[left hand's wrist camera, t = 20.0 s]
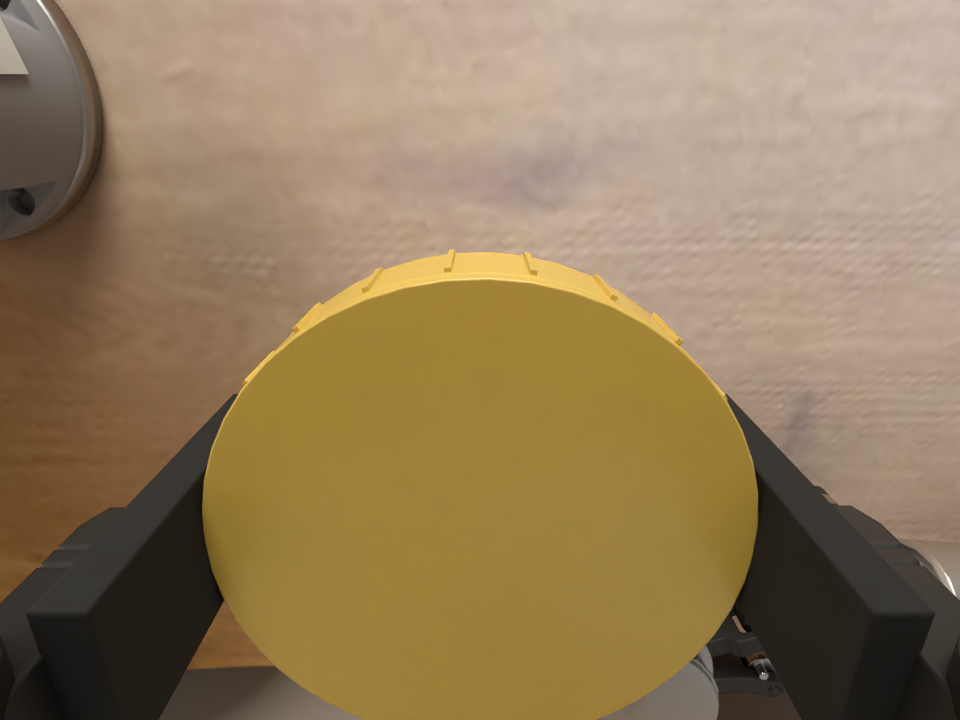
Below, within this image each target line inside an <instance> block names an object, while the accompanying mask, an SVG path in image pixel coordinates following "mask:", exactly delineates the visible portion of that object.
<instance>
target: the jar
mask: <svg viewBox="0 0 960 720" xmlns="http://www.w3.org/2000/svg"><path fill="white" fill-rule="evenodd" d="M718 691H719V690H718V687H717V685H716V683H715V680H714V678H713V661H712V657H711V654H710V651H709V649H708V646H707V644H706V645H705V646H704V647H703V648H702V650H701V651H700V652H699V653H698V654H697V655H696V656H695V657H694V658H693V659H692V660H691V661H690V662H689V663H688V664H687V665H685V666H684V667H683V668H682V669H681V670H680V671H679V672H678V673H676V674H675V675H674V676H673V677H672V678H670V679H669V680H668V681H666V682H665V683H663V684H662V685H660V686H659V687H658V688H656V689H655V690H653V691H652V692H651V693H649V694H648V695H646V696H644V697H642V698H640V699H639V700H637V701H635V702H633V703H631V704H630V705H628V706H626V707H624V708H623V709H620V710H618V711H616V712H613V713H611V714H609V715H606V716H604V717H602V718H599V719H597V720H717V716H718V708H719V699H718Z"/></svg>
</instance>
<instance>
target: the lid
mask: <svg viewBox="0 0 960 720" xmlns="http://www.w3.org/2000/svg"><path fill="white" fill-rule="evenodd" d="M292 331H293V333H292V334H291V335H290V336H289V337H288V338H287V339H286V340H285V341H284V342H283V343H282V344H281V345H280V346H279V347H278V348H277V349H276V351H274V350H273V351H272V352H271V353H270V354H269V355H268V356H267V357H266V358H265V359H264V360H263V361H262V362H261V363H260V364H259V365H258V366H257V367H256V369H255V370H254V371H253V372H252V373H251V374H250V375H249V376H248V377H247V378H246V379H245V380H244V381H243V383H242V385H243V386H244V387H243V388H242V389H241V391H240V393H239V394H238V396H237V398H236V399H235V401H234V402H233V404H232V406H231V407H230V409H229V411H228V412H227V414H226V415H225V417H224V419H223V421H222V424H221V426H220V429H219V431H218V434H217V436H216V438H215V441H214V443H213V446H212V448H211V452H210V456H209V461H208V465H207V469H206V473H205V478H204V487H203V501H202V519H203V530H204V537H205V542H206V547H207V552H208V556H209V561H210V566H211V570H212V573H213V575H214V577H215V580H216V582H217V585H218V587H219V589H220V592H221V594H222V597H223V599H224V601H225V602H226V604H227V606H228V607H229V609H230V611H231V612H232V614H233V616H234V618H235V619H236V621H237V623H238V624H239V626H240V627H241V628H242V629H243V631H244V632H245V633H246V634H247V636H248V637H249V638H250V640H251V641H252V642H253V643H254V645H255V646H256V647H257V648H258V649H259V650H260V651H261V652H262V653H263V654H264V655H265V656H266V657H267V658H268V659H269V660H270V661H271V662H272V663H273V664H274V665H275V666H276V667H277V668H278V669H279V670H281V671H282V672H283V673H284V674H286V675H287V676H288V677H290V678H291V679H292V680H293V681H295V682H296V683H297V684H298V685H300V686H301V687H302V688H304V689H306V690H307V691H309V692H310V693H312V694H314V695H315V696H317V697H319V698H320V699H322V700H323V701H325V702H327V703H329V704H331V705H333V706H335V707H337V708H339V709H341V710H343V711H345V712H347V713H349V714H351V715H354V716H356V717H359V718H361V719H364V720H597V719H599V718H602V717H604V716H606V715H609V714H611V713H613V712H616V711H618V710H620V709H623V708H624V707H626V706H628V705H630V704H631V703H633V702H635V701H637V700H639V699H640V698H642V697H644V696H646V695H648V694H649V693H651V692H652V691H653V690H655V689H656V688H658V687H659V686H660V685H662V684H663V683H665V682H666V681H668V680H669V679H670V678H672V677H673V676H674V675H675V674H676V673H678V672H679V671H680V670H681V669H682V668H683V667H684V666H685V665H687V664H688V663H689V662H690V661H691V660H692V659H693V658H694V657H695V656H696V655H697V654H698V653H699V652H700V651H701V650H702V648H703V647H704V646H705V645H706V644H707V643H708V642H709V640H710V639H711V638H712V637H713V636H714V635H715V633H716V632H717V630H718V629H719V627H720V626H721V624H722V623H723V621H724V620H725V618H726V617H727V615H728V614H729V612H730V611H731V609H732V607H733V605H734V603H735V601H736V599H737V597H738V595H739V593H740V591H741V589H742V587H743V585H744V583H745V579H746V576H747V573H748V570H749V567H750V564H751V559H752V555H753V550H754V545H755V539H756V534H757V529H758V489H757V483H756V477H755V471H754V465H753V460H752V457H751V454H750V451H749V448H748V445H747V442H746V439H745V436H744V434H743V431H742V429H741V427H740V425H739V423H738V421H737V419H736V417H735V415H734V414H733V412H732V410H731V408H730V406H729V404H728V402H727V400H728V399H727V397H726V395H725V394H724V393H723V392H722V391H721V390H720V389H719V388H718V387H717V385H716V384H715V383H714V382H713V381H712V380H711V379H710V378H709V376H708V375H707V374H706V372H705V371H704V370H703V369H702V368H701V367H700V366H699V365H698V364H697V363H696V362H695V361H694V360H693V359H692V358H691V357H690V355H689V354H688V353H687V352H686V351H685V350H684V349H683V348H682V347H681V346H680V345H681V344H682V343H683V341H682V340H681V339H680V338H679V337H678V336H677V335H676V334H675V333H674V332H673V331H672V330H671V329H670V328H669V327H668V326H667V325H666V324H665V323H664V322H663V321H662V320H661V319H660V318H659V317H658V316H657V315H656V314H655V313H653V314H652V315H651V316H650V315H649V314H648V313H647V312H646V311H645V310H644V309H642V308H641V307H640V306H638V305H637V304H636V303H634V302H633V301H632V300H630V299H629V298H628V297H626V296H625V295H623V294H622V293H621V292H619V291H618V290H616V289H614V288H612V287H610V286H608V285H607V283H606V282H605V281H604V280H603V279H602V278H601V276H599V275H597V274H595V275H594V277H592V276H590V275H587V274H585V273H582V272H579V271H577V270H574V269H571V268H569V267H566V266H563V265H561V264H558V263H554V262H549V261H545V260H541V259H536V258H532V256H531V254H530V253H528V252H524V256H523V255H513V254H502V253H491V252H479V253H455V250H449V251H448V254H447V255H441V256H435V257H429V258H423V259H417V260H414V261H411V262H408V263H404V264H401V265H398V266H395V267H392V268H388V269H385V270H383V268H382V267H379V268H377V269H376V270H375V271H374V273H373V274H372V275H371V276H370V277H368V278H366V279H363V280H361V281H359V282H357V283H355V284H353V285H351V286H350V287H348V288H347V289H345V290H344V291H342V292H341V293H339V294H337V295H336V296H334V297H333V298H331V299H330V300H328V301H327V302H325V303H324V304H323V305H322V304H321V303H320V302H318V303H317V304H316V305H315V306H314V307H313V308H312V309H311V310H310V311H309V312H308V313H307V314H306V315H305V316H304V317H303V318H302V319H301V320H300V321H299V322H298V323H297V324H296V325H295V326H294V327H293V328H292Z"/></svg>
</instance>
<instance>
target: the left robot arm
mask: <svg viewBox="0 0 960 720" xmlns="http://www.w3.org/2000/svg"><path fill="white" fill-rule="evenodd" d="M101 140H102V113H101V105H100V98H99V93H98V88H97V84H96V80H95V77H94V74H93V70H92V67H91V65H90V62H89V60H88V57H87V55H86V52H85V50H84V48H83V46H82V44H81V42H80V40H79V38H78V36H77V34H76V32H75V30H74V29H73V27H72V25H71V24H70V22H69V20H68V19H67V17H66V16H65V14H64V13H63V11H62V10H61V9H60V7H59V6H58V4H57V3H56V2H55V1H54V0H0V241H1V240H5V239H10V238H14V237H19V236H23V235H27V234H30V233H34V232H37V231H39V230H41V229H43V228H46V227H48V226H50V225H51V224H53V223H54V222H56V221H58V220H59V219H60V218H62V217H63V216H64V215H65V214H67V213H68V212H69V211H70V210H71V209H72V208H73V207H74V206H75V205H76V204H77V202H78V201H79V200H80V198H81V197H82V196H83V194H84V193H85V191H86V189H87V187H88V186H89V184H90V182H91V179H92V177H93V175H94V172H95V169H96V166H97V162H98V159H99V154H100V148H101ZM725 395H726V397H727V399H728V400H727V402H728V404H729V406H730V408H731V410H732V412H733V414H734V415H735V417H736V419H737V421H738V423H739V425H740V427H741V429H742V431H743V434H744V436H745V439H746V442H747V445H748V448H749V451H750V454H751V457H752V460H753V465H754V471H755V477H756V483H757V489H758V529H757V534H756V539H755V545H754V550H753V555H752V559H751V564H750V567H749V570H748V573H747V576H746V579H745V583H744V585H743V587H742V589H741V591H740V593H739V595H738V597H737V599H736V601H737V603H738V604H739V606H740V608H741V610H742V612H743V614H744V615H745V617H746V619H747V621H748V623H749V624H750V626H751V628H752V630H753V632H754V634H755V635H756V637H757V639H758V641H759V643H760V644H761V646H762V648H763V650H764V652H765V653H766V655H767V657H768V659H769V661H770V663H771V664H772V666H773V668H774V670H775V672H776V673H777V675H778V677H779V679H780V681H781V683H782V684H783V686H784V688H785V690H786V692H787V693H788V695H789V697H790V699H791V701H792V703H793V704H794V706H795V708H796V710H797V712H798V713H799V715H800V717H801V719H802V720H960V600H959V599H958V598H957V597H956V596H955V595H954V594H953V593H952V592H951V591H950V590H949V589H948V588H947V587H946V586H945V585H944V584H942V583H941V582H940V581H939V580H938V579H937V578H936V577H935V576H934V575H933V574H932V573H931V572H930V571H929V570H928V569H927V568H926V567H925V566H921V565H920V563H919V562H920V561H919V560H918V559H917V558H916V557H915V556H914V555H913V554H912V553H910V552H909V551H908V550H907V549H906V548H902V544H901V543H900V542H899V541H898V540H897V539H896V538H895V537H894V536H893V535H892V534H891V533H890V532H889V531H888V530H887V529H886V528H885V527H884V526H883V525H882V524H881V523H879V522H877V521H876V520H874V519H872V518H871V517H869V516H867V515H866V514H864V513H862V512H861V511H859V510H857V509H856V508H854V507H852V506H833V505H832V504H831V503H830V502H829V501H828V500H827V499H826V498H825V497H824V496H823V495H822V494H821V493H820V492H819V491H818V489H817V488H816V487H815V486H814V485H813V484H812V483H811V482H810V481H809V480H808V479H807V478H806V477H805V476H804V475H803V474H802V473H801V472H800V471H799V470H798V468H797V467H796V466H795V465H794V464H793V463H792V462H791V461H790V460H789V459H788V458H787V457H786V456H785V455H784V454H783V453H782V452H781V451H780V450H779V449H778V447H777V446H776V445H775V444H774V443H773V442H772V441H771V440H770V439H769V438H768V437H767V436H766V435H765V434H764V433H763V432H762V431H761V430H760V429H759V428H758V426H757V425H756V424H755V423H754V422H753V421H752V420H751V419H750V418H749V417H748V416H747V415H746V414H745V413H744V412H743V411H742V410H741V409H740V408H739V407H738V405H737V404H736V403H735V402H734V401H733V400H732V399H731V398H730V397H729V396H728V395H727V394H725ZM237 396H238V394H233V395H232V396H231V398H230V399H229V400H228V401H227V402H226V403H225V404H224V405H223V406H222V407H221V408H220V409H219V410H218V411H217V412H216V413H215V414H214V415H213V416H212V417H211V419H210V420H209V421H208V422H207V423H206V424H205V425H204V426H203V427H202V428H201V429H200V430H199V431H198V432H197V433H196V434H195V435H194V436H193V437H192V438H191V440H190V441H189V442H188V443H187V444H186V445H185V446H184V447H183V448H182V449H181V450H180V451H179V452H178V453H177V454H176V455H175V456H174V457H173V458H172V459H171V461H170V462H169V463H168V464H167V465H166V466H165V467H164V468H163V469H162V470H161V471H160V472H159V473H158V474H157V475H156V476H155V477H154V478H153V479H152V480H151V482H150V483H149V484H148V485H147V486H146V487H145V488H144V489H143V490H142V491H141V492H140V493H139V494H138V495H137V496H136V497H135V498H134V499H133V500H132V501H131V503H130V504H129V505H128V506H127V507H126V508H109V509H107V510H105V511H104V512H102V513H100V514H99V515H97V516H95V517H94V518H92V519H90V520H89V521H87V522H85V523H84V524H82V525H80V526H79V527H78V528H77V529H76V530H75V531H74V532H73V533H72V534H71V535H70V536H69V537H68V538H67V539H66V540H65V541H64V542H63V543H62V544H61V545H60V546H59V547H60V548H59V550H55V551H54V552H53V553H52V554H51V555H50V556H49V557H48V558H47V559H46V560H45V561H44V562H42V566H41V568H36V569H35V570H34V571H33V572H32V573H31V574H30V575H29V576H28V577H27V578H26V579H25V580H24V581H23V582H22V583H21V584H20V585H19V586H18V587H17V588H16V589H15V590H14V591H13V592H12V593H11V594H10V595H9V596H8V597H7V598H6V599H5V600H4V601H3V602H1V603H0V720H159V718H160V716H161V714H162V712H163V710H164V709H165V707H166V705H167V703H168V701H169V700H170V698H171V696H172V694H173V692H174V690H175V689H176V687H177V685H178V683H179V681H180V680H181V678H182V676H183V674H184V672H185V671H186V669H187V667H188V665H189V663H190V661H191V660H192V658H193V656H194V654H195V652H196V651H197V649H198V647H199V645H200V643H201V641H202V640H203V638H204V636H205V634H206V632H207V631H208V629H209V627H210V625H211V623H212V621H213V620H214V618H215V616H216V614H217V612H218V611H219V609H220V607H221V605H222V603H223V601H224V599H223V597H222V594H221V592H220V589H219V587H218V585H217V582H216V580H215V577H214V575H213V573H212V570H211V566H210V561H209V556H208V552H207V547H206V542H205V537H204V530H203V519H202V501H203V487H204V478H205V473H206V469H207V465H208V461H209V456H210V452H211V448H212V446H213V443H214V441H215V438H216V436H217V434H218V431H219V429H220V426H221V424H222V421H223V419H224V417H225V415H226V414H227V412H228V411H229V409H230V407H231V406H232V404H233V402H234V401H235V399H236V398H237Z"/></svg>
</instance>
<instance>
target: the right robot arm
mask: <svg viewBox="0 0 960 720" xmlns="http://www.w3.org/2000/svg"><path fill="white" fill-rule="evenodd" d="M815 487H816V488H817V489H818V491H819V492H820V493H821V494H822V495H823V496H824V497H825V498H826V499H827V500H828V501H829V502H830V503H831V504H832V505H833V506H839V505H838V504H837V503H836V502H835V501H834V500H833V499H832V498H831V497H830V496H829V495H828V494H827V493H826V492H825V490H824V489H823V488H821V487H818V486H815ZM896 539H897V538H896ZM897 540H898V541H899V542H900V543H901V544H902V548H906V549H907V550H908V551H909V552H910V553H912V554H913V555H914V556H915V557H916V558H917V559H918V560H919V561H920V562H919V563H920V565H921V566H925V567H926V568H927V569H928V570H929V571H930V572H931V573H932V574H933V575H934V576H935V577H936V578H937V579H938V580H939V581H940V582H941V583H942V584H944V585H945V586H946V587H947V588H948V589H949V590H950V591H951V592H952V593H953V594H954V595H955V596H956V597H957V598H958V599H959V600H960V544H959V543H950V542H936V541H923V540H910V539H897ZM735 615H736V616H737V618H738V620H739V622H740V624H741V626H742V627H743V629H744V630H745V631H746V632H747V633H743V632H740V631H739V630H738V628H737V626H736V624H735V622H734V620H733V618H732V616H735ZM707 646H708V649H709V651H710V654H711V657H712V661H713V678H714V680H715V683H716V685H717V687H718V690H719V691H718V694H727V693H739V692H748V693H753V694H759V695H765V696H770V697H774V696H778V695H780V694H781V693H782V692H783V691H784V686H783V684H782V683H781V681H780V679H779V677H778V675H777V673H776V672H775V670H774V668H773V666H772V664H771V663H770V661H769V659H768V657H767V655H766V653H765V652H764V650H763V648H762V646H761V644H760V643H759V641H758V639H757V637H756V635H755V634H754V632H753V630H752V628H751V626H750V624H749V623H748V621H747V619H746V617H745V615H744V614H743V612H742V610H741V608H740V606H739V604H738V603H737V601H735V603H734V605H733V607H732V609H731V611H730V612H729V614H728V615H727V617H726V618H725V620H724V621H723V623H722V624H721V626H720V627H719V629H718V630H717V632H716V633H715V635H714V636H713V637H712V638H711V639H710V640H709V642H708V643H707Z"/></svg>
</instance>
